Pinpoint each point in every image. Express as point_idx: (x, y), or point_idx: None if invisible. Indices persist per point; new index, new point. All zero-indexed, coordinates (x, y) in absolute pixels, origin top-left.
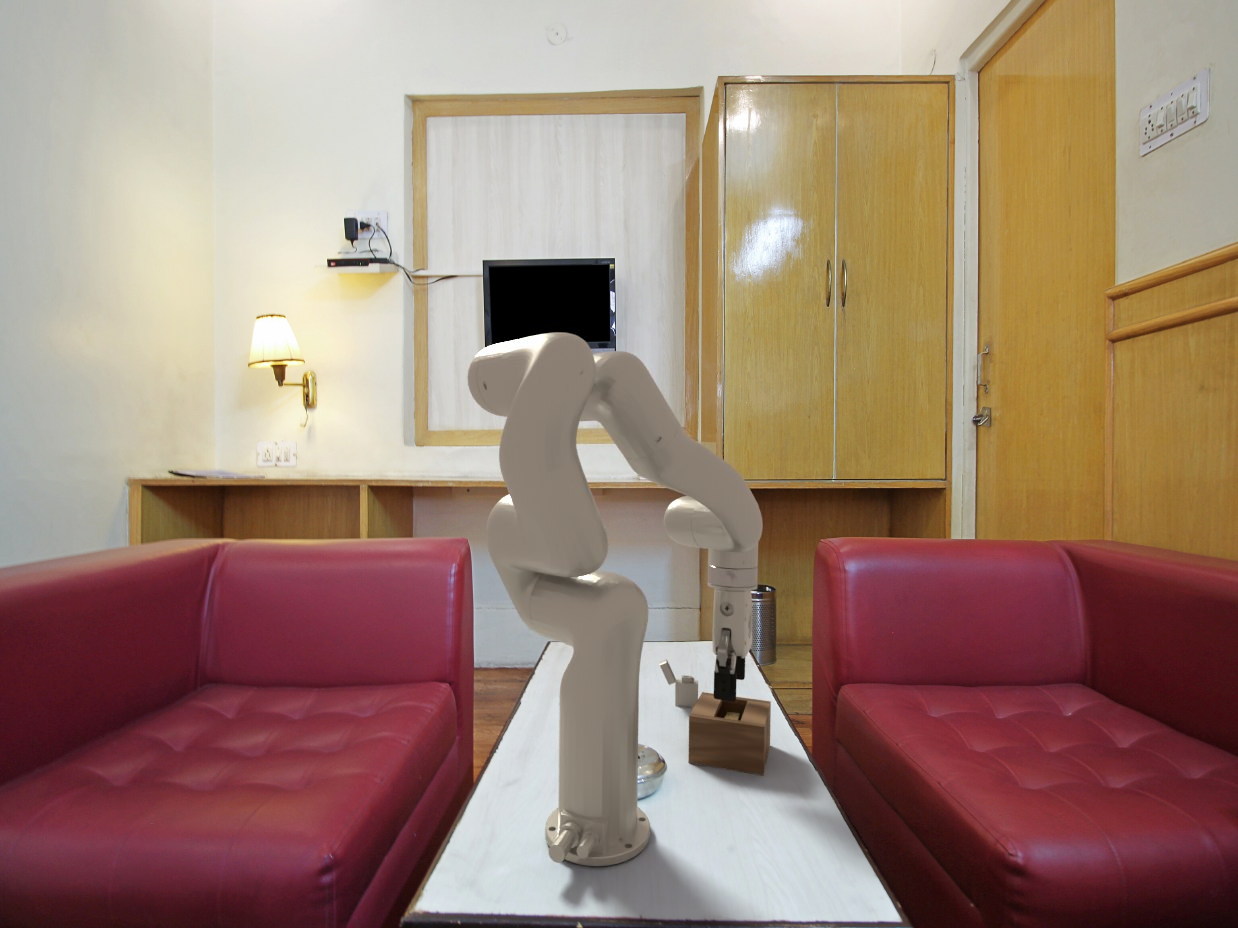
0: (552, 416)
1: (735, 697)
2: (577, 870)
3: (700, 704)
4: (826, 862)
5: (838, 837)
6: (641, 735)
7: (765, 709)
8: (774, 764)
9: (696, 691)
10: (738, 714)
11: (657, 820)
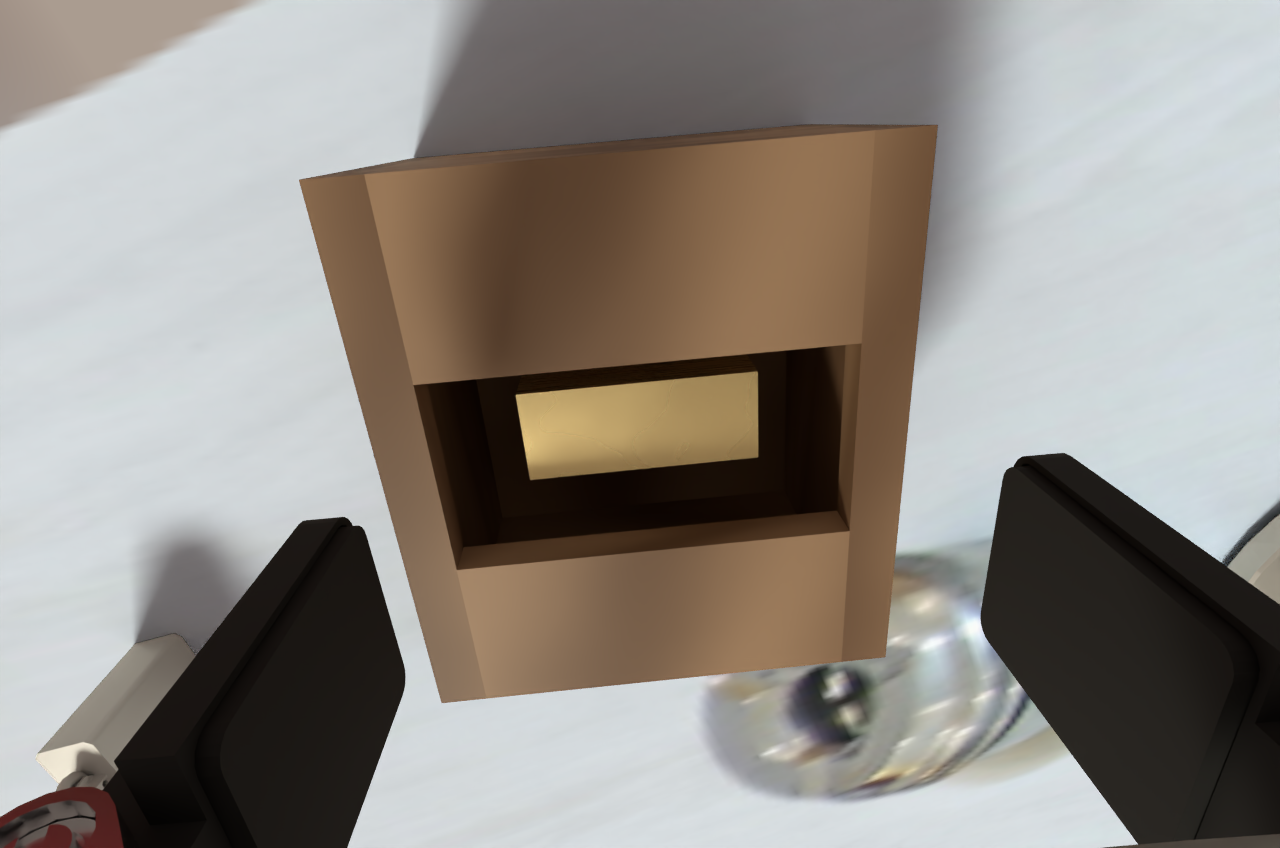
0: None
1: (1080, 466)
2: None
3: (668, 653)
4: None
5: None
6: (628, 724)
7: (535, 191)
8: (649, 85)
9: (127, 708)
10: (542, 399)
11: (1271, 463)
